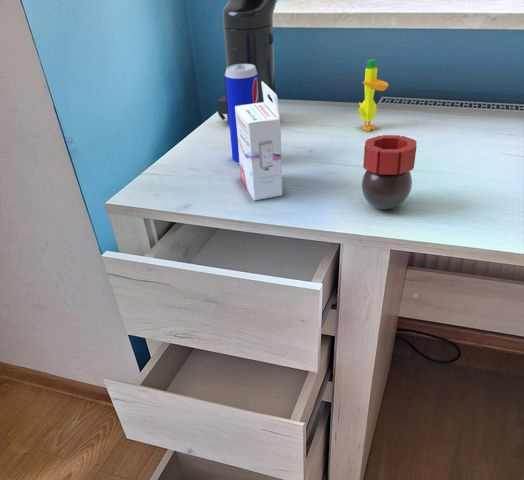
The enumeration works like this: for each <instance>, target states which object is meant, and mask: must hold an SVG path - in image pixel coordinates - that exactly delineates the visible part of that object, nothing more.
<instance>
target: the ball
mask: <svg viewBox="0 0 524 480" xmlns="http://www.w3.org/2000/svg"><path fill="white" fill-rule="evenodd" d="M412 187H413V177H412V174H411V171H408V172H405V173H402V174H397V175H389V174H379V173H377V174H375V173H373V172H371V171H368V170H366V169H365V172H364V174H363V176H362V180H361V191H362V195H363V197H364V199H365V200H366V202H367V203H368V204H369V205H371V206H372V207H374V208H376V209H379V210H392V209H394V208H395V209H396V208H397V207H399V206H400V205H402V204H403V203H404V202H405V201H406V200H407V199H408V197H409V195H410V193H411V191H412Z"/></svg>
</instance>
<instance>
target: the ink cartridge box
mask: <svg viewBox="0 0 524 480" xmlns="http://www.w3.org/2000/svg"><path fill="white" fill-rule="evenodd" d="M261 83H262V92H263V99H264V102H261V103H254V104H247V105H240V106H235V114H236V124H237V136H238V148H239V162H240V165H239V171H240V172H239V173H240V180H241V182H242V183H243V185H244V187H245V189H246V190H247V191H248V193H249V194H250V196H251V198H252V200H253V201H260V200H265V199H270V198H275V197H281V196H283V169H282V168H283V167H282V165H283V163H282V132H281V131H282V129H281V115H280V105H279V99H278V98H279V97H278V95H277V94H276V92H275V93H274V92H273V91H272V90H271V89H270V88H269V87H268V86H267V85H266V84H265V83H264V82H263V81H262V82H261ZM269 94H270V97H271V98H272V100H273V103H272V102H271V101H270V100H269V98H268V95H269Z"/></svg>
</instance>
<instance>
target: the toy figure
mask: <svg viewBox="0 0 524 480" xmlns="http://www.w3.org/2000/svg"><path fill="white" fill-rule="evenodd" d="M376 62H377V59H376V58H375V59H374V58H373V59H367V60H366V63H367V64H366V66H365V72H364V81H362V84H363V85H364V100H363V101H362V102H360V101H358V103H359V108H358V114H359V116H360V118H361V119H362V121H363V122H364V125H363V127H362V128H361V129H362V130H364V131H366V132H372V131H374V130H376V126H375V124H371V121H372V120H373V119H374V117H375V116H376V114H377V103H376V101H375V100H374V96H375V93H376V91H380V92H383V91H385V90H386V89H388V87H389V83H388V82H387V81H384V80H382V79H378V65H377V63H376Z"/></svg>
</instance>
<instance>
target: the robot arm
mask: <svg viewBox="0 0 524 480" xmlns="http://www.w3.org/2000/svg"><path fill="white" fill-rule="evenodd" d="M276 4H277V0H228V2H227V3H226V4H225V5H224V7H223V8H222V14H221V15H222V27H223V37H224V48H225V61H226V62H225V63H226V68H227V67H228V66H231V65H235V64H252V65H254V66H255V67H256V70H257V76H258V95H259V103H261V102H264V99H263V92H262V83H261V82H262V81H263V82H264V83H265V84H266V85H267V86H268V87H269V88H270V89H271V90H272V91H273V92H274V93H275V94H276V81H275V79H276V77H275V47H274V45H275V44H274V12H275V8H276ZM225 73H226V71H225V72H224V73H223V84H224V95H223V96H222V97H220V98H219V99H218V100H216V101H217V115H218V116H219V118H220V119H221V120H222V121H224V120H226V119H227V125H229V114H228V102H227V91H226V79H225ZM268 98H269V100H270V101H271V102H272V103H273V100H272V98H271V97H270V94H269V95H268ZM225 115H226V117H225Z"/></svg>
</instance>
